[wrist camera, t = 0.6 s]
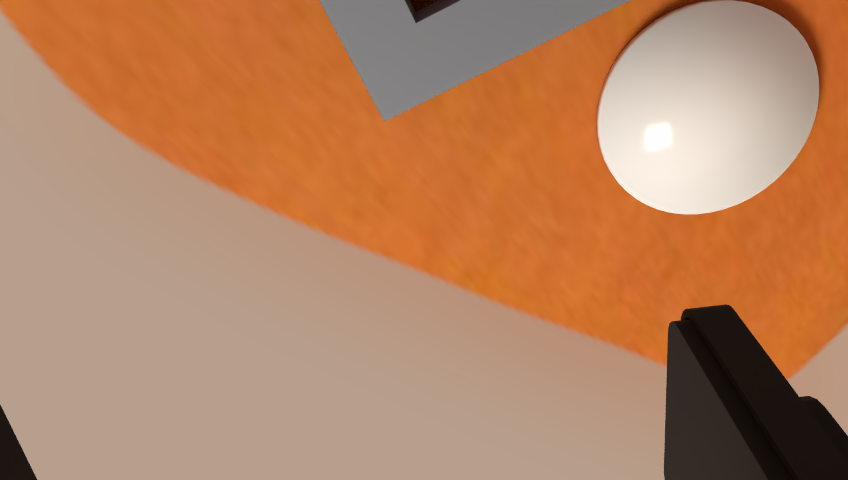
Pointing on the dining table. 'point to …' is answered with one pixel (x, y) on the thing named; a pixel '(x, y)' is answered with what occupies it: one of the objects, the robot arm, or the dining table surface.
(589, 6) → the socket block
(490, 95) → the dining table surface
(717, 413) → the robot arm
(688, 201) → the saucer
